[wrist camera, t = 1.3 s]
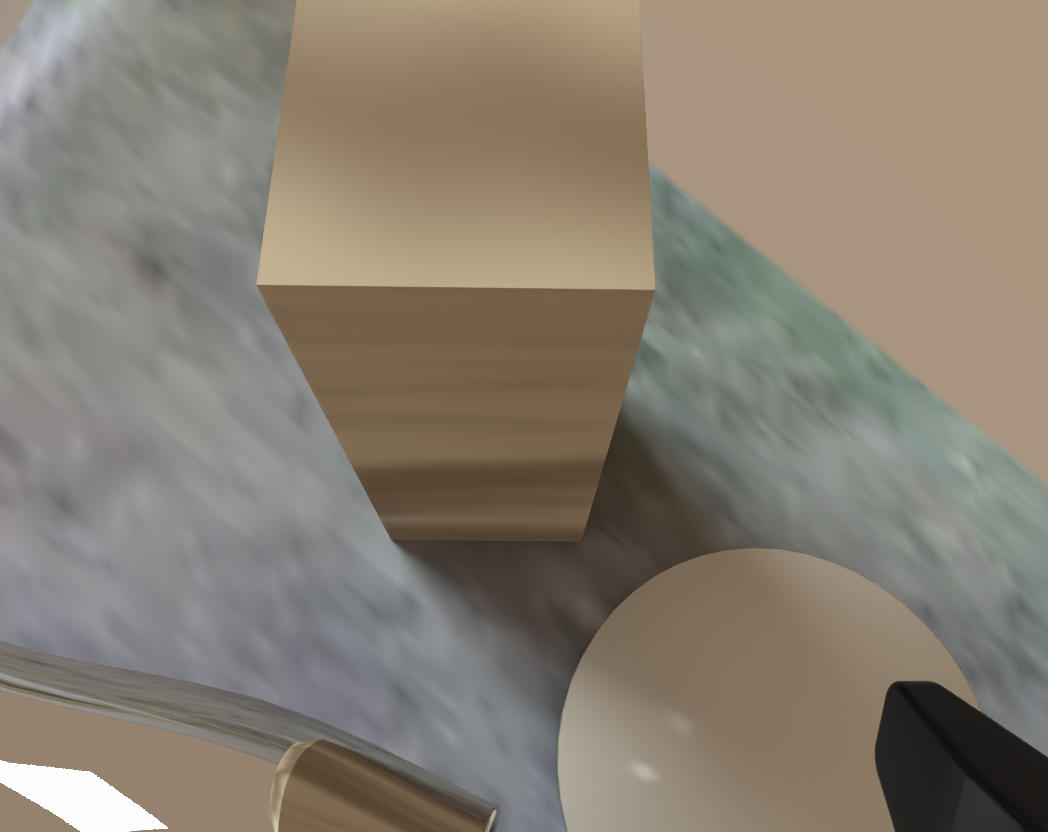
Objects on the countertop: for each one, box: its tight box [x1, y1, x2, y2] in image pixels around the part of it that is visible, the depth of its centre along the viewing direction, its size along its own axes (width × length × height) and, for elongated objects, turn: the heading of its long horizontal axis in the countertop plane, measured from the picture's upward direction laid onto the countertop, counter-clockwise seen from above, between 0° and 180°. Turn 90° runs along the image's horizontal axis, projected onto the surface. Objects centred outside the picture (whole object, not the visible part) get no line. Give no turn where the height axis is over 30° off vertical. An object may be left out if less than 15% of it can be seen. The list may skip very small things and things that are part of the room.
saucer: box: [556, 548, 981, 832], centre depth 20 cm, size 10×10×1 cm
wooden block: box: [256, 0, 655, 542], centre depth 18 cm, size 5×5×13 cm
